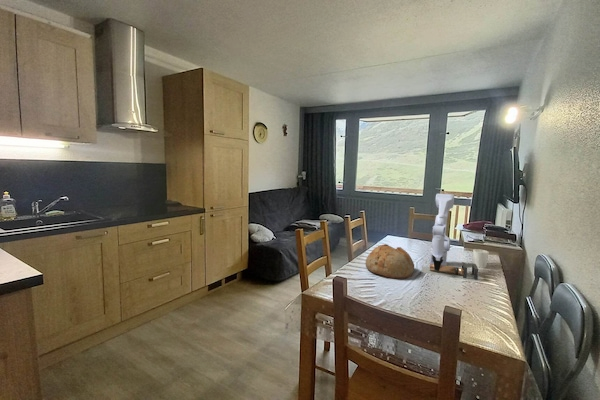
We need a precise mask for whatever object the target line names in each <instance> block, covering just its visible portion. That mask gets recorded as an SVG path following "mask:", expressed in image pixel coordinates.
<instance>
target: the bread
mask: <svg viewBox="0 0 600 400" xmlns="http://www.w3.org/2000/svg"><path fill="white" fill-rule="evenodd" d="M365 267H366V269H367V271H369V272H371V273H374V274H377V275H378V276H379V275H380V276H383V277H387V278H389V279H407V278H410V277H412V275H413V273H414V271H415V264H414V261H413V259H412V257H411V256H410V254H409V253H408V251H406V250H405V249H404V248H402V247H401V246H398V247H392V246H391V245H389V244H386V243H385V244H381V245H377V246H376V247H374V248H373V249H372V251H371V252H370V253H369V254H368V255H367V257H366V259H365Z"/></svg>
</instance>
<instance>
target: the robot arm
mask: <svg viewBox="0 0 600 400" xmlns="http://www.w3.org/2000/svg"><path fill="white" fill-rule="evenodd" d="M454 203H455V195H454V193H452V194H451V193H439V192H438V193H436V195H435V206H436V208H437V209H438V214H437V215H436V216H435V221H434V225H433V226H432V240H431V249H430V252H429V253H430V254H429V260H428V261H429V265H430V264H434V269H435V270H437V271H439V269H440V266H441V265H445V266H448V265H447V258H448V257H447V256H448V255H447V254H448V252H450V251H451V249H450V248H451V238H450V237H449V236H447V226H448V217H449V216H448V215H449V212H450V210H452V209H454Z"/></svg>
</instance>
